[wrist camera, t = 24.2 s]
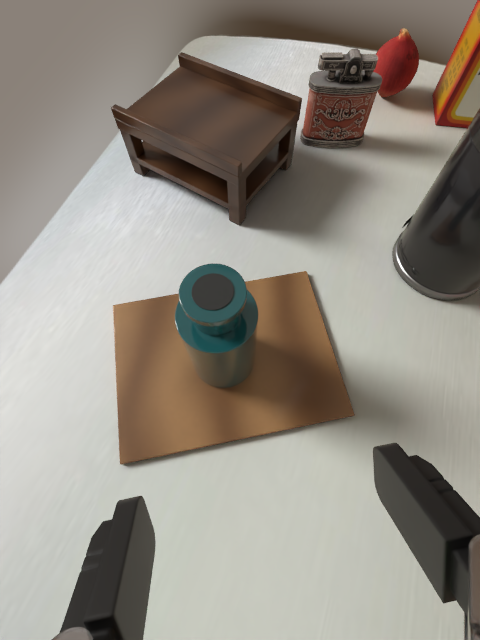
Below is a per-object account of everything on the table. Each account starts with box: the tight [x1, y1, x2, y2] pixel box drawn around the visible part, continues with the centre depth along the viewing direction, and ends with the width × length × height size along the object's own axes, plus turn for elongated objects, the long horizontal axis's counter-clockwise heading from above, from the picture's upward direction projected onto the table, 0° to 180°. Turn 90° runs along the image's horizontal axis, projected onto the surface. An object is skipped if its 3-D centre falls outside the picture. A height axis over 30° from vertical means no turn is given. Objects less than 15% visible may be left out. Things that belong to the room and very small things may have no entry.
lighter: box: [300, 49, 382, 148], centre depth 41 cm, size 8×3×10 cm, turn 88°
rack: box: [111, 52, 302, 225], centre depth 40 cm, size 16×12×8 cm
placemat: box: [113, 271, 354, 464], centre depth 32 cm, size 20×15×1 cm
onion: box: [373, 28, 419, 97], centre depth 46 cm, size 6×6×8 cm
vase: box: [175, 264, 258, 388], centre depth 27 cm, size 6×6×12 cm
